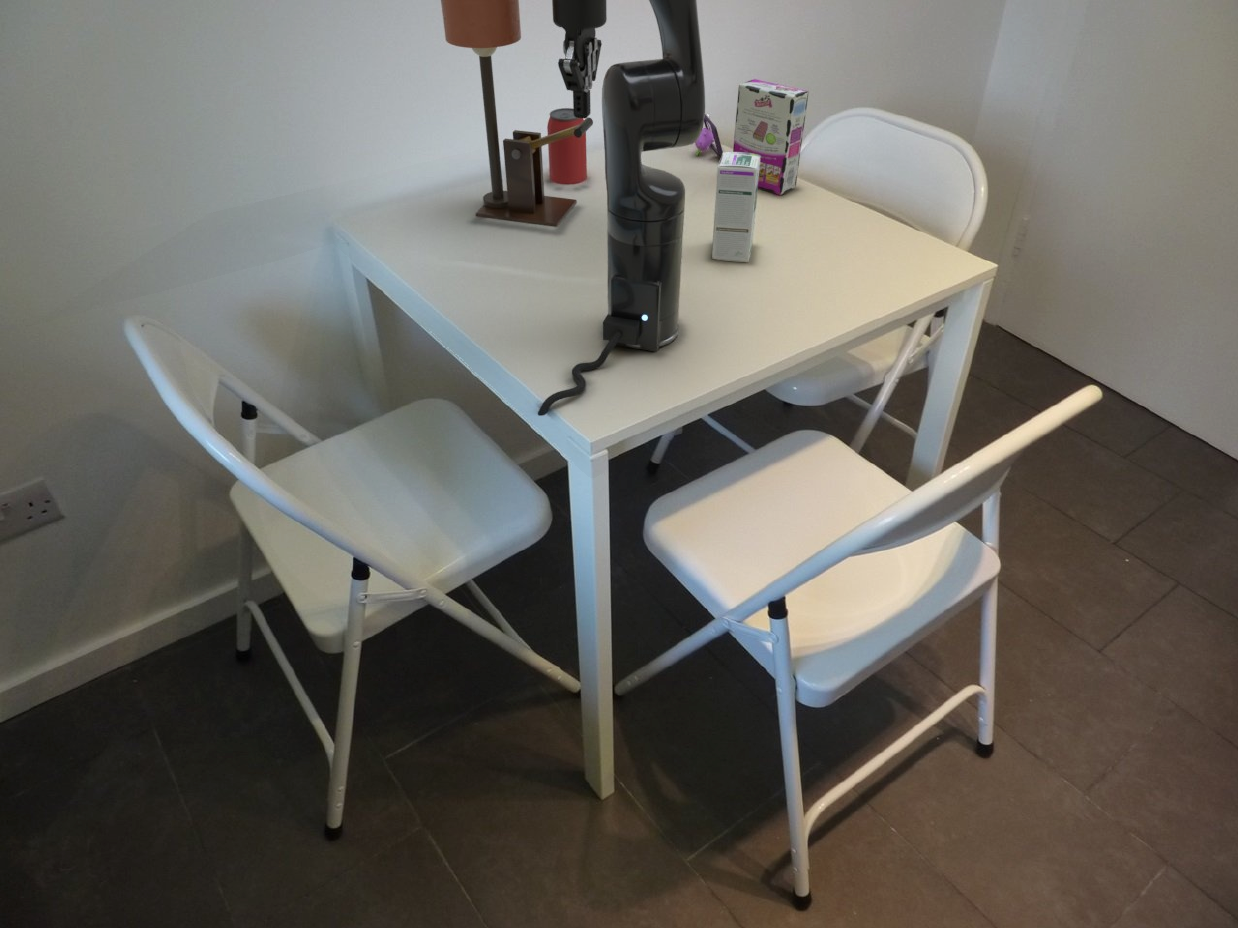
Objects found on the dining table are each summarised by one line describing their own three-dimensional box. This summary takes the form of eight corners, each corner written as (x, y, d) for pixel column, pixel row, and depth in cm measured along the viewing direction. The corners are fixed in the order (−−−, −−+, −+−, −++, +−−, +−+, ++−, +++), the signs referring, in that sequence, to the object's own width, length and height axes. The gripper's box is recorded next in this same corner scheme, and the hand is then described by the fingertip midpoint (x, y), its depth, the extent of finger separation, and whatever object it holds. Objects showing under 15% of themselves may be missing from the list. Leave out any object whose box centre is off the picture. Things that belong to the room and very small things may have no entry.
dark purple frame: (720, 125, 153) (706, 110, 160) (693, 137, 154) (681, 121, 160) (728, 159, 158) (715, 143, 164) (702, 170, 158) (690, 153, 165)
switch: (595, 128, 130) (589, 112, 128) (584, 140, 125) (578, 124, 124) (524, 152, 135) (518, 137, 134) (512, 164, 131) (505, 149, 130)
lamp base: (577, 208, 141) (574, 130, 133) (557, 233, 134) (553, 152, 126) (500, 198, 144) (493, 122, 136) (476, 222, 137) (467, 142, 129)
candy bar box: (797, 188, 148) (811, 90, 138) (781, 196, 145) (793, 97, 135) (745, 172, 154) (754, 77, 143) (729, 179, 151) (737, 83, 140)
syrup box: (749, 263, 126) (759, 167, 117) (709, 259, 127) (717, 164, 118) (752, 246, 130) (762, 153, 121) (714, 243, 131) (721, 150, 122)
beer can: (544, 187, 148) (540, 117, 140) (557, 173, 153) (554, 105, 145) (579, 192, 147) (577, 121, 139) (591, 178, 151) (590, 109, 144)
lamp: (517, 220, 134) (499, -5, 113) (454, 211, 136) (425, -11, 116) (541, 194, 142) (529, -21, 121) (481, 186, 144) (459, -26, 124)
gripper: (568, -25, 121) (572, 101, 132) (536, -6, 111) (543, 128, 122) (618, -22, 119) (618, 105, 130) (590, -2, 109) (592, 133, 121)
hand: (582, 116), depth 126 cm, fingers closed
